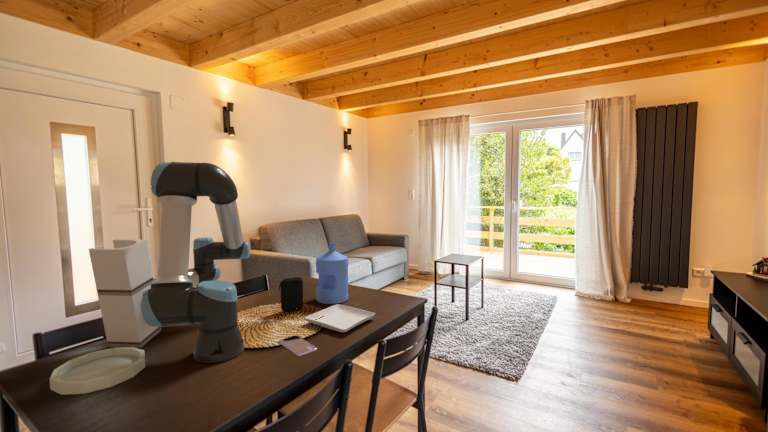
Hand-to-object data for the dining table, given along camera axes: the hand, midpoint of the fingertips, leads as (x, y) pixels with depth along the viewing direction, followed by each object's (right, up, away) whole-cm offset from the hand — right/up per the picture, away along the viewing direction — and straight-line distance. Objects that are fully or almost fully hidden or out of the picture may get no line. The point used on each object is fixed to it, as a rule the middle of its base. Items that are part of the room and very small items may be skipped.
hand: (123, 294), depth 120 cm
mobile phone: (+59, -18, +1) cm, 62 cm away
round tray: (+7, -19, -18) cm, 27 cm away
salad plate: (+72, -17, +23) cm, 77 cm away
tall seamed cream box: (+1, -17, +4) cm, 17 cm away
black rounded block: (+48, -15, +36) cm, 62 cm away
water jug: (+64, -14, +52) cm, 83 cm away
